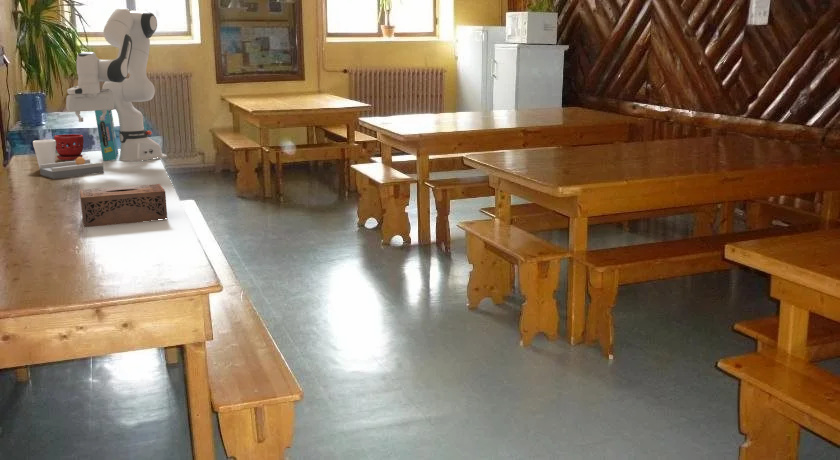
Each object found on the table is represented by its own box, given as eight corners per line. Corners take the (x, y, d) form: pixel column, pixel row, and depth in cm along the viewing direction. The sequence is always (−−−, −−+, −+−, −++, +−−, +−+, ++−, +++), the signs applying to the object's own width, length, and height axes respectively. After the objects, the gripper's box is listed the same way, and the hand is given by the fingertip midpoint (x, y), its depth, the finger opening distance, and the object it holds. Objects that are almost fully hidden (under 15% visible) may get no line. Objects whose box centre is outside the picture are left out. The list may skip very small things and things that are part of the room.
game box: (105, 155, 411) (96, 101, 404) (118, 153, 413) (110, 100, 406) (102, 161, 392) (93, 105, 385) (116, 159, 394) (107, 103, 387)
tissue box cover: (162, 211, 282) (159, 183, 280) (167, 220, 270) (165, 191, 267) (82, 218, 272) (79, 189, 270) (84, 228, 259) (81, 197, 257)
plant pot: (78, 161, 391) (76, 136, 388) (51, 161, 391) (48, 136, 388) (89, 157, 404) (87, 133, 401) (63, 157, 404) (61, 133, 401)
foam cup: (62, 167, 373) (59, 139, 369) (51, 171, 364) (48, 142, 360) (43, 167, 373) (39, 139, 370) (31, 170, 364) (28, 142, 361)
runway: (90, 168, 369) (89, 159, 368) (103, 172, 360) (102, 162, 359) (40, 174, 354) (39, 164, 353) (53, 178, 345) (52, 168, 343)
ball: (83, 164, 362) (82, 156, 361) (87, 165, 359) (86, 157, 358) (74, 166, 359) (73, 157, 358) (78, 167, 356) (77, 158, 355)
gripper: (109, 88, 366) (112, 119, 369) (63, 89, 353) (66, 121, 356) (115, 89, 362) (117, 120, 365) (68, 90, 348) (71, 122, 351)
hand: (91, 121), depth 360 cm, fingers open, 8 cm apart
